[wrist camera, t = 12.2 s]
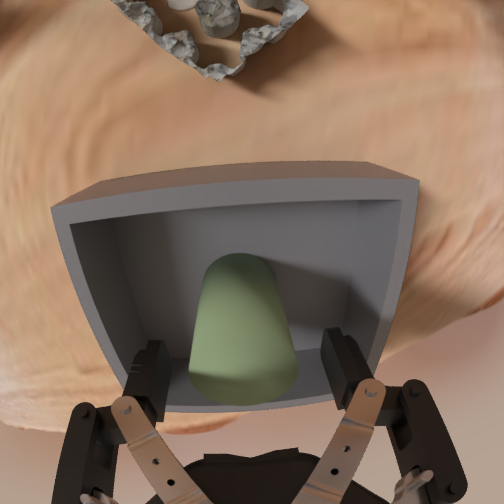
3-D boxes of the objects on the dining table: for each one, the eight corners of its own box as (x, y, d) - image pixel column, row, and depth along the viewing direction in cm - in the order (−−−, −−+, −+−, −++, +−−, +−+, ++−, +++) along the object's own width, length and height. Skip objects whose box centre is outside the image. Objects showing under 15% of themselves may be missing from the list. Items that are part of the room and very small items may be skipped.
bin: (99, 181, 16) (50, 207, 11) (367, 162, 17) (419, 180, 11) (149, 357, 23) (136, 409, 17) (344, 343, 23) (366, 392, 18)
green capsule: (198, 255, 18) (178, 339, 10) (275, 250, 18) (303, 331, 11) (207, 316, 20) (198, 407, 12) (275, 312, 20) (295, 401, 13)
